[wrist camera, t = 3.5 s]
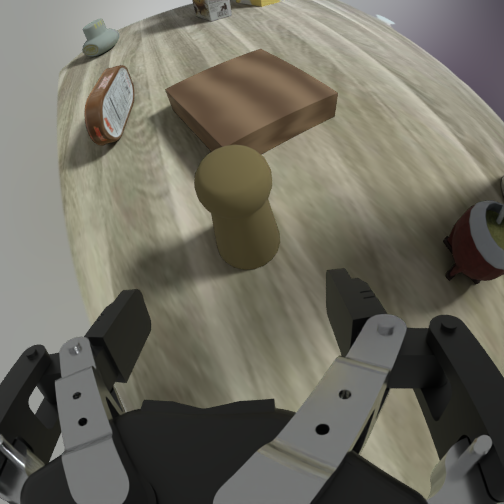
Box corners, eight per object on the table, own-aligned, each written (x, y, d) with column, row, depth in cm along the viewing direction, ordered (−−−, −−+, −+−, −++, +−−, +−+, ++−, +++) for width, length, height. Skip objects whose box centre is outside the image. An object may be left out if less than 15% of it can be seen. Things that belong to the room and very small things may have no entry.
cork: (205, 255, 27) (164, 188, 17) (234, 204, 29) (211, 124, 19) (264, 279, 26) (252, 219, 15) (289, 224, 27) (292, 144, 17)
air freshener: (126, 40, 54) (115, 12, 45) (107, 55, 52) (94, 26, 42) (101, 45, 57) (90, 20, 47) (83, 60, 54) (70, 35, 45)
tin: (125, 96, 41) (107, 60, 33) (141, 91, 40) (125, 54, 33) (102, 157, 35) (73, 117, 27) (120, 152, 34) (93, 109, 27)
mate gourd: (463, 306, 22) (569, 246, 8) (419, 247, 25) (500, 151, 11) (493, 264, 23) (578, 197, 9) (453, 212, 26) (521, 123, 12)
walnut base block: (262, 68, 39) (260, 48, 35) (334, 116, 33) (337, 92, 29) (173, 110, 37) (165, 89, 33) (230, 172, 31) (223, 147, 27)
